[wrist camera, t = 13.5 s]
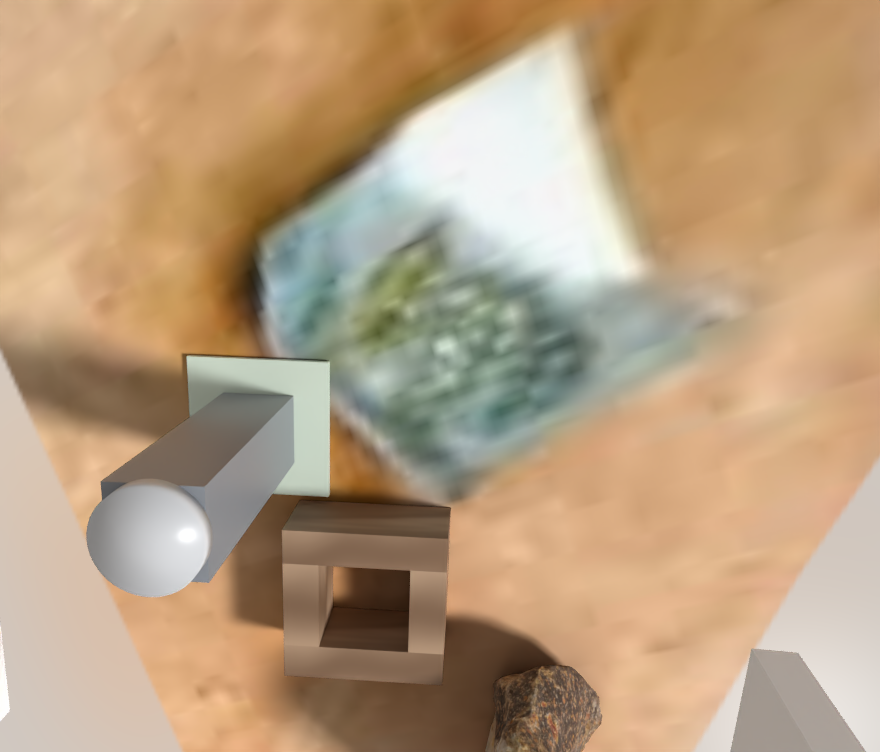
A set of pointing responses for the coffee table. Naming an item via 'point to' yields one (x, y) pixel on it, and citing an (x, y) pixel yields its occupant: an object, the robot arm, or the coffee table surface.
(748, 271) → the coffee table surface
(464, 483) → the coffee table surface
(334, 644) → the brown square frame
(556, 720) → the rock
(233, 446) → the plug
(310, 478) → the mat
